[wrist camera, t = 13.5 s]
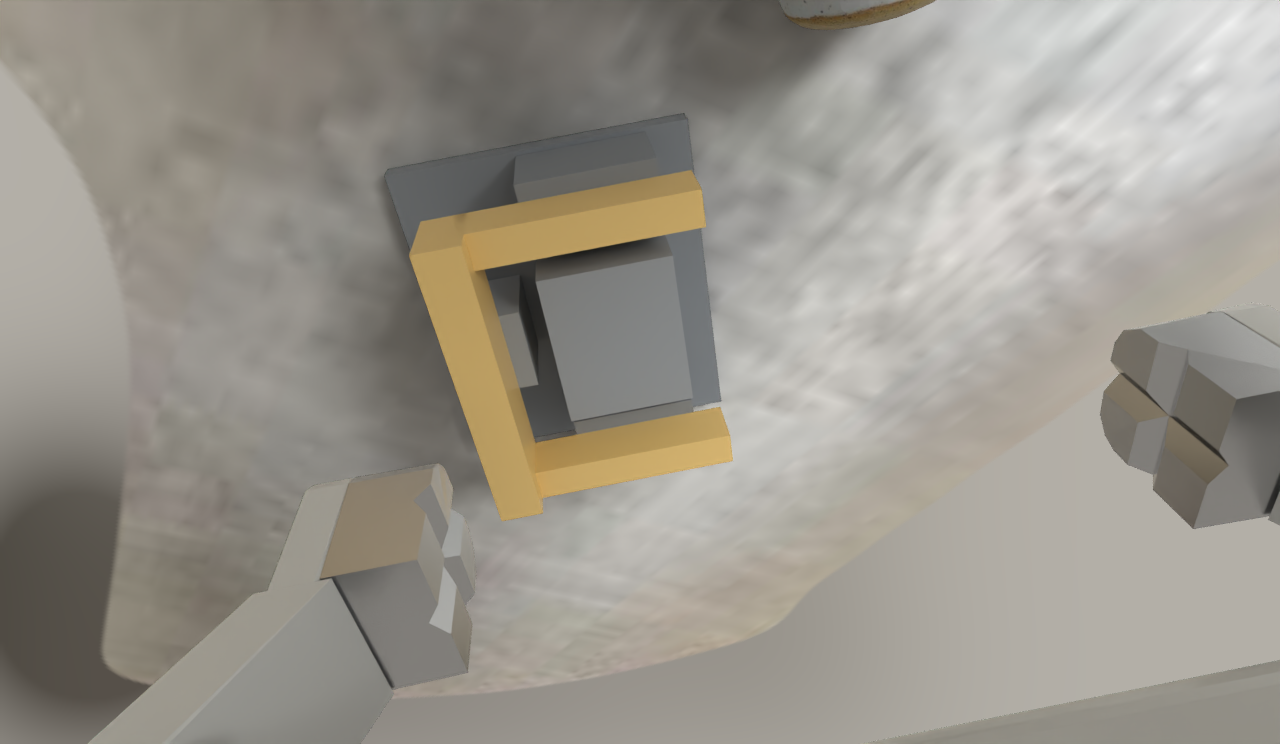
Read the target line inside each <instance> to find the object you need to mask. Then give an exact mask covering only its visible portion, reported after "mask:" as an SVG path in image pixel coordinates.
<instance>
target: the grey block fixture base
mask: <svg viewBox="0 0 1280 744" xmlns="http://www.w3.org/2000/svg"><path fill="white" fill-rule="evenodd" d="M689 170H692V172H693V174H694V168H693V160H692V152H691V143H690V135H689V126H688V119H687V117H686V116H685V114H684V113H683V114H677V115H672V116H667V117H662V118H656V119H651V120H646V121H641V122H635V123H630V124H625V125H619V126H614V127H609V128H604V129H598V130H593V131H588V132H582V133H577V134H572V135H567V136H561V137H556V138H551V139H546V140H540V141H535V142H530V143H524V144H519V145H514V146H509V147H503V148H498V149H493V150H487V151H482V152H477V153H472V154H466V155H461V156H456V157H451V158H445V159H440V160H435V161H429V162H424V163H419V164H414V165H408V166H403V167H398V168H392V169H388V170H387V172H386V174H385V176H384V177H385V180H386V183H387V186H388V189H389V191H390V194H391V197H392V200H393V203H394V206H395V209H396V212H397V215H398V217H399V220H400V223H401V226H402V229H403V232H404V235H405V238H406V240H407V243H408V246H409V249H410V251H411V249H412V246H413V243H414V240H415V237H416V234H417V231H418V228H419V225H420V222H421V221H426V220H431V219H437V218H442V217H447V216H452V215H458V214H463V213H468V212H473V211H479V210H484V209H489V208H494V207H500V206H505V205H510V204H515V203H521V202H526V201H531V200H536V199H542V198H547V197H552V196H557V195H563V194H568V193H573V192H578V191H584V190H589V189H594V188H599V187H605V186H610V185H615V184H620V183H626V182H631V181H636V180H641V179H647V178H652V177H657V176H662V175H668V174H673V173H678V172H683V171H689ZM485 273H486V276H487V279H488V283H489V286H490V290H491V293H492V296H493V300H494V303H495V307H496V310H497V313H498V317H499V320H500V324H501V327H502V331H503V334H504V337H505V341H506V344H507V348H508V351H509V354H510V358H511V361H512V365H513V368H514V371H515V375H516V378H517V382H518V385H519V388H520V392H521V395H522V399H523V402H524V405H525V409H526V412H527V416H528V419H529V422H530V426H531V429H532V433H533V436H534V437H540V436H545V435H550V434H555V433H560V432H565V431H571V430H576V434H577V435H578V434H583V433H588V432H593V431H598V430H603V429H609V428H614V427H619V426H624V425H629V424H634V423H639V422H645V421H650V420H655V419H660V418H665V417H670V416H675V415H681V414H686V413H691V412H693V407H694V406H700V405H705V404H710V403H715V402H720V401H721V396H720V387H719V379H718V370H717V362H716V353H715V345H714V337H713V328H712V320H711V311H710V303H709V295H708V286H707V278H706V269H705V261H704V253H703V244H702V236H701V228H698V229H693V230H688V231H683V232H677V233H672V234H667V235H662V236H657V237H651V238H646V239H641V240H636V241H630V242H625V243H620V244H615V245H610V246H604V247H599V248H594V249H589V250H583V251H578V252H573V253H568V254H563V255H557V256H552V257H547V258H542V259H536V260H531V261H526V262H521V263H516V264H510V265H505V266H500V267H495V268H489V269H485Z"/></svg>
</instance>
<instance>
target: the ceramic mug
mask: <svg viewBox="0 0 1280 744" xmlns="http://www.w3.org/2000/svg"><path fill="white" fill-rule="evenodd" d="M934 1H935V0H779V2H780V5H781V8H782V10H783V12H784V14H785V15H786V17H787V18H789V19H790V20H791V21H792V22H794V23H796V24H798V25H799V26H801V27H805V28H809V29H819V30H834V29H844V28H853V27H859V26H864V25H870V24H874V23H878V22H882V21H886V20H889V19H893V18H897V17H899V16H902V15H905V14H907V13H910V12H912V11H915V10H917V9H919V8H921V7H924V6H926V5H928V4H930V3H932V2H934Z"/></svg>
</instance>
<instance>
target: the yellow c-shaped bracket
mask: <svg viewBox="0 0 1280 744" xmlns="http://www.w3.org/2000/svg"><path fill="white" fill-rule="evenodd" d="M704 227H706V222H705V213H704V205H703V196H702V189H701V187H700V185H699V183H698V181H697V179H696V178H695V176H694V174H693V172H692V170H689V171H683V172H678V173H673V174H668V175H662V176H657V177H652V178H647V179H641V180H636V181H631V182H626V183H620V184H615V185H610V186H605V187H599V188H594V189H589V190H584V191H578V192H573V193H568V194H563V195H557V196H552V197H547V198H542V199H536V200H531V201H526V202H521V203H515V204H510V205H505V206H500V207H494V208H489V209H484V210H479V211H473V212H468V213H463V214H458V215H452V216H447V217H442V218H437V219H431V220H426V221H421V222H420V225H419V228H418V231H417V234H416V237H415V240H414V243H413V246H412V249H411V251H410V254H409V257H410V260H411V263H412V266H413V269H414V272H415V274H416V277H417V280H418V283H419V286H420V289H421V292H422V294H423V297H424V300H425V303H426V306H427V309H428V312H429V314H430V317H431V320H432V323H433V326H434V329H435V332H436V334H437V337H438V340H439V343H440V346H441V349H442V352H443V355H444V357H445V360H446V363H447V366H448V369H449V372H450V375H451V377H452V380H453V383H454V386H455V389H456V392H457V395H458V397H459V400H460V403H461V406H462V409H463V412H464V415H465V417H466V420H467V423H468V426H469V429H470V432H471V435H472V438H473V440H474V443H475V446H476V449H477V452H478V455H479V458H480V460H481V463H482V466H483V469H484V472H485V475H486V478H487V480H488V483H489V486H490V489H491V492H492V495H493V498H494V500H495V503H496V506H497V509H498V512H499V515H500V518H501V520H502V521H506V520H511V519H516V518H522V517H527V516H532V515H537V514H542V513H543V498H545V497H550V496H555V495H560V494H565V493H570V492H576V491H581V490H586V489H591V488H596V487H601V486H606V485H611V484H617V483H622V482H627V481H632V480H637V479H642V478H647V477H653V476H658V475H663V474H668V473H673V472H678V471H683V470H688V469H694V468H699V467H704V466H709V465H714V464H719V463H724V462H730V461H733V457H732V448H731V440H730V434H729V431H728V428H727V425H726V423H725V420H724V417H723V414H722V411H721V408H720V407H717V408H712V409H706V410H701V411H696V412H691V413H686V414H681V415H675V416H670V417H665V418H660V419H655V420H650V421H645V422H639V423H634V424H629V425H624V426H619V427H614V428H609V429H603V430H598V431H593V432H588V433H583V434H578V435H572V436H567V437H562V438H557V439H552V440H547V441H542V442H536V443H535V440H534V436H533V433H532V429H531V426H530V422H529V419H528V416H527V412H526V409H525V405H524V402H523V399H522V395H521V392H520V388H519V385H518V382H517V378H516V375H515V371H514V368H513V365H512V361H511V358H510V354H509V351H508V348H507V344H506V341H505V337H504V334H503V331H502V327H501V324H500V320H499V317H498V313H497V310H496V307H495V303H494V300H493V296H492V293H491V290H490V286H489V283H488V279H487V276H486V273H485V269H489V268H495V267H500V266H505V265H510V264H516V263H521V262H526V261H531V260H536V259H542V258H547V257H552V256H557V255H563V254H568V253H573V252H578V251H583V250H589V249H594V248H599V247H604V246H610V245H615V244H620V243H625V242H630V241H636V240H641V239H646V238H651V237H657V236H662V235H667V234H672V233H677V232H683V231H688V230H693V229H698V228H704Z"/></svg>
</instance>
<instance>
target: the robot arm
mask: <svg viewBox="0 0 1280 744" xmlns="http://www.w3.org/2000/svg"><path fill="white" fill-rule="evenodd" d="M1111 362H1112V363H1113V365H1114V366H1115V368H1116V369H1117V370H1118V372H1119V373H1120V374H1119V375H1118V376H1117V377H1116V378H1115V379H1114V380H1113V382H1112V383H1111V384H1110V385H1109V386H1108V387H1107V388H1106V390H1105V391H1104V394H1103V399H1102V406H1101V412H1100V416H1101V420H1102V424H1103V429H1104V433H1105V436H1106V438H1107V439H1108V441H1109V443H1110V445H1111V447H1112V448H1113V450H1114V451H1115V452H1116V453H1117V454H1118V455H1119V456H1120V457H1121V458H1122V459H1123V460H1124V462H1125V463H1127V464H1128V465H1130V466H1132V467H1135V468H1137V469H1140V470H1143V471H1145V472H1148V473H1150V474H1153V490H1154V491H1155V492H1156V493H1157V494H1158V495H1159V496H1160V497H1161V498H1162V499H1163V500H1164V501H1165V502H1166V503H1167V504H1168V505H1169V506H1170V507H1171V508H1172V509H1173V510H1174V511H1175V512H1176V513H1177V514H1178V515H1179V516H1181V517H1182V518H1183V519H1184V520H1185V521H1186V522H1187V523H1188V524H1189V525H1190V526H1191V527H1192V528H1193V529H1196V528H1202V527H1208V526H1214V525H1220V524H1225V523H1232V522H1237V521H1243V520H1249V519H1255V518H1261V517H1266V516H1269V519H1268V520H1270V521H1272V522H1274V523H1276V524H1278V525H1280V311H1278V310H1276V309H1274V308H1273V307H1271V306H1269V305H1264V304H1258V303H1252V302H1251V303H1246V304H1242V305H1237V306H1233V307H1228V308H1224V309H1220V310H1215V311H1210V312H1208V313H1206V314H1203V315H1198V316H1193V317H1188V318H1183V319H1178V320H1173V321H1168V322H1163V323H1158V324H1153V325H1148V326H1143V327H1138V328H1133V329H1128V330H1123V332H1122V333H1121V334H1120V336H1119V337H1118V339H1117V340H1116V342H1115V344H1114V348H1113V352H1112V356H1111ZM452 497H453V486H452V484H451V482H450V479H449V477H448V475H447V472H446V470H445V468H444V467H443V466H442V465H440V464H439V463H434V464H429V465H423V466H417V467H411V468H405V469H400V470H394V471H388V472H382V473H376V474H371V475H365V476H359V477H356V478H349V479H343V480H338V481H333V482H328V483H322V484H317V485H313V486H312V487H311V488H309V489H308V490H307V491H306V492H305V493H304V495H303V498H302V500H301V503H300V505H299V508H298V511H297V513H296V516H295V519H294V521H293V524H292V526H291V529H290V532H289V534H288V537H287V539H286V542H285V545H284V547H283V550H282V552H281V555H280V558H279V560H278V563H277V566H276V568H275V571H274V573H273V576H272V579H271V581H270V584H269V586H268V589H267V591H264V592H259V593H254V594H252V595H251V596H250V597H249V598H248V599H247V600H246V601H245V602H244V603H242V604H241V605H240V606H239V607H238V608H237V609H236V610H235V611H234V612H232V613H231V614H230V615H229V616H228V617H227V618H226V619H225V620H224V621H223V622H221V623H220V624H219V625H218V626H217V627H216V628H215V629H214V630H213V631H211V632H210V633H209V634H208V635H207V636H206V637H205V638H204V639H203V640H202V641H200V642H199V643H198V644H197V645H196V646H195V647H194V648H193V649H192V650H190V651H189V652H188V653H187V654H186V655H185V656H184V657H183V658H182V659H181V660H179V661H178V662H177V663H176V664H175V665H174V666H173V667H172V668H171V669H169V670H168V671H167V672H166V673H165V674H164V675H163V676H162V677H161V678H160V679H158V680H157V681H156V682H155V683H154V684H153V685H152V686H151V687H150V688H149V689H147V690H146V691H145V692H144V693H143V694H142V695H141V696H140V697H139V698H138V699H136V700H135V701H134V702H133V703H132V704H131V705H130V706H129V707H127V708H126V709H125V710H124V711H123V712H122V713H121V714H120V715H119V716H118V717H117V718H115V719H114V720H113V721H112V722H111V723H110V724H109V725H108V726H107V727H105V728H104V729H103V730H102V731H101V732H100V733H99V734H98V735H96V736H95V737H94V738H93V739H92V740H91V741H90V742H89V743H88V744H361V742H362V741H363V740H364V738H365V736H366V735H367V733H368V732H369V730H370V729H371V728H372V726H373V724H374V723H375V721H376V720H377V719H378V717H379V716H380V714H381V713H382V711H383V709H384V708H385V707H386V705H387V703H388V702H389V700H390V699H391V698H392V696H393V695H394V692H393V689H398V688H402V687H406V686H411V685H415V684H420V683H424V682H429V681H433V680H437V679H442V678H446V677H451V676H455V675H459V674H464V673H468V666H469V655H470V644H471V633H472V622H471V619H470V617H469V614H468V612H467V610H466V607H465V605H466V603H467V602H468V601H469V600H470V599H471V597H472V596H473V595H474V594H475V584H476V566H475V555H474V547H473V543H472V539H471V535H470V531H469V528H468V526H467V523H466V520H465V518H464V516H463V515H461V514H460V513H458V512H456V511H455V510H453V509H452V508H451V505H452ZM864 744H1280V660H1277V661H1272V662H1268V663H1263V664H1258V665H1253V666H1248V667H1243V668H1238V669H1233V670H1228V671H1223V672H1218V673H1213V674H1208V675H1203V676H1198V677H1193V678H1188V679H1183V680H1178V681H1173V682H1169V683H1164V684H1159V685H1154V686H1149V687H1144V688H1139V689H1135V690H1129V691H1124V692H1119V693H1114V694H1109V695H1104V696H1099V697H1094V698H1089V699H1084V700H1079V701H1074V702H1069V703H1064V704H1059V705H1054V706H1049V707H1044V708H1039V709H1034V710H1029V711H1024V712H1019V713H1014V714H1009V715H1004V716H999V717H994V718H989V719H984V720H979V721H974V722H969V723H964V724H959V725H954V726H949V727H944V728H939V729H934V730H929V731H924V732H919V733H914V734H909V735H904V736H899V737H894V738H889V739H883V740H878V741H873V742H868V743H864Z"/></svg>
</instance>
